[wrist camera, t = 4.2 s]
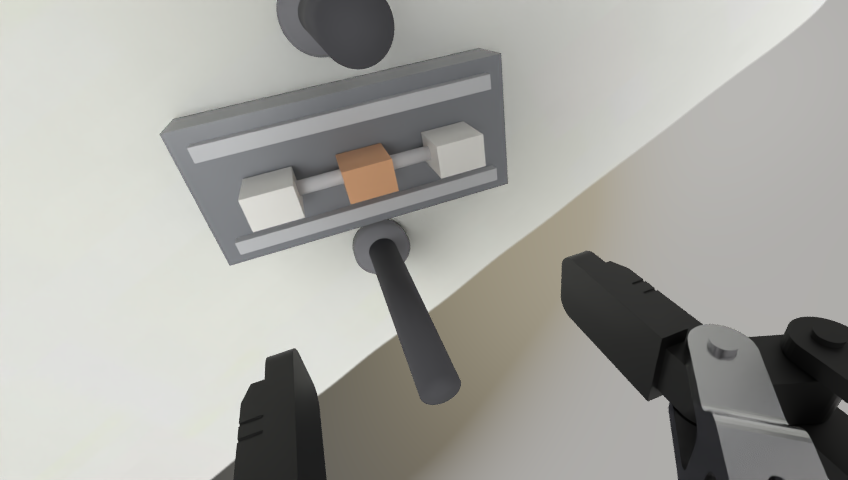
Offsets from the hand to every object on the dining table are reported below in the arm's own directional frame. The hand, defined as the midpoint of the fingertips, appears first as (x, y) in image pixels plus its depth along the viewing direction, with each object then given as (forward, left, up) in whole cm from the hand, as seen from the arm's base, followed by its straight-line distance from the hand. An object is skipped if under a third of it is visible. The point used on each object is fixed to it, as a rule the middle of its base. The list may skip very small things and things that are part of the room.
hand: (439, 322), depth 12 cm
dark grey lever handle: (+7, +3, -17) cm, 18 cm away
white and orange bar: (0, 0, -14) cm, 14 cm away
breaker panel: (0, 0, -17) cm, 17 cm away
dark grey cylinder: (-7, -3, -17) cm, 18 cm away
